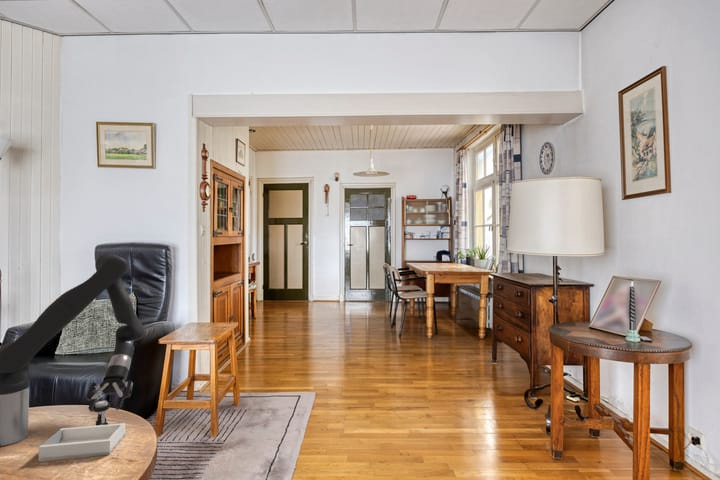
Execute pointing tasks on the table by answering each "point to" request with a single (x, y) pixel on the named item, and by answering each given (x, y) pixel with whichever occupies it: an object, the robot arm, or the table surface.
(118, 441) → the tray
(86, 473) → the table surface
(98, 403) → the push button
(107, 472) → the table surface
